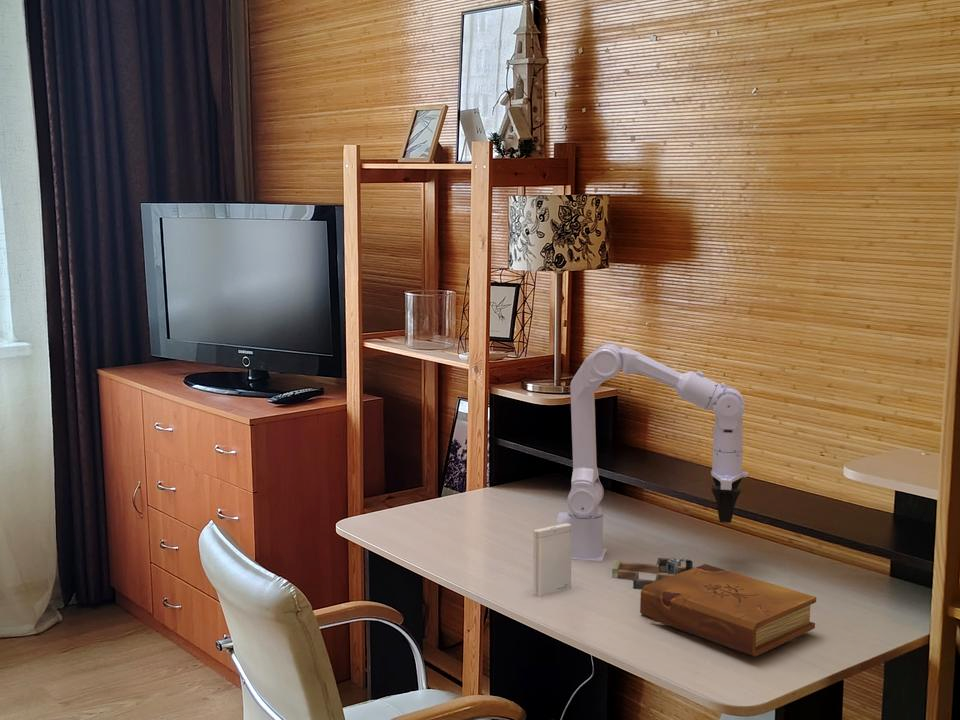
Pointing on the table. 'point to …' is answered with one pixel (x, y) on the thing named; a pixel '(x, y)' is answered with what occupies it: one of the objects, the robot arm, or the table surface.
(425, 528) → the table surface
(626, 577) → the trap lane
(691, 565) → the wristwatch
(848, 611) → the table surface
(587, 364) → the robot arm
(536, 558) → the hard drive
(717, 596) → the diary
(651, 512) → the table surface
